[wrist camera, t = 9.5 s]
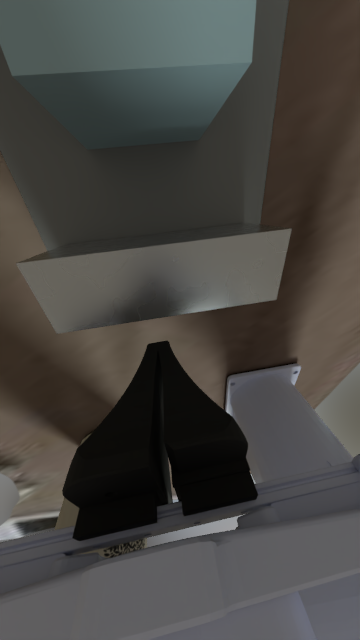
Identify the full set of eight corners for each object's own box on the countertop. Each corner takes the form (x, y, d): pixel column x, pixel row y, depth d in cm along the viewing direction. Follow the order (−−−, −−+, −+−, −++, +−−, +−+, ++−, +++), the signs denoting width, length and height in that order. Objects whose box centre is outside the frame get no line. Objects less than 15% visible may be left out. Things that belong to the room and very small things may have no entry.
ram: (240, 274, 12) (276, 299, 8) (85, 296, 11) (56, 333, 8) (244, 222, 10) (291, 228, 7) (64, 244, 9) (15, 263, 6)
